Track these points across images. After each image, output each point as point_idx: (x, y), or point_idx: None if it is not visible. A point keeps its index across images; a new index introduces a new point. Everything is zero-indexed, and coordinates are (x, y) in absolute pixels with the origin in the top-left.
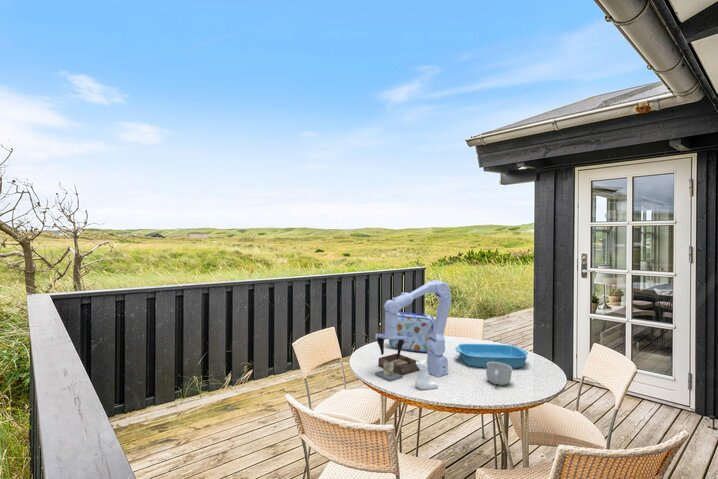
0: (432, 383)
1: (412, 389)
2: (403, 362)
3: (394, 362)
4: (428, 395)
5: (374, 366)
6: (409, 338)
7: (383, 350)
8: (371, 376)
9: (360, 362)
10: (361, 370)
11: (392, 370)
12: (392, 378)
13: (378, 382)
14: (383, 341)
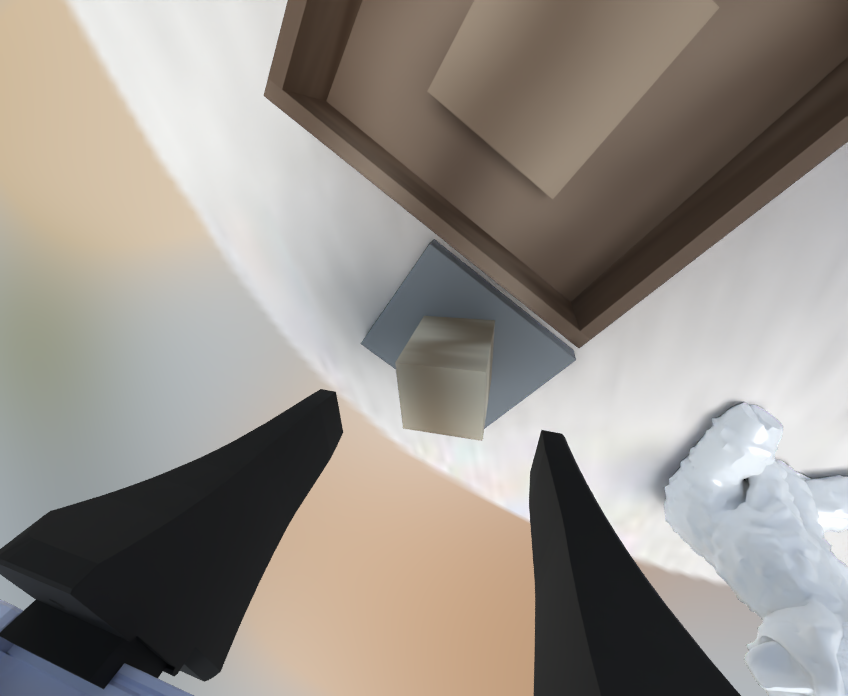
0: (826, 529)
1: (628, 499)
2: (627, 57)
3: (484, 121)
4: None
5: (294, 141)
6: None
7: (311, 430)
8: (356, 362)
9: (143, 69)
10: (258, 276)
11: (487, 402)
12: (496, 415)
13: (420, 433)
14: (193, 565)
